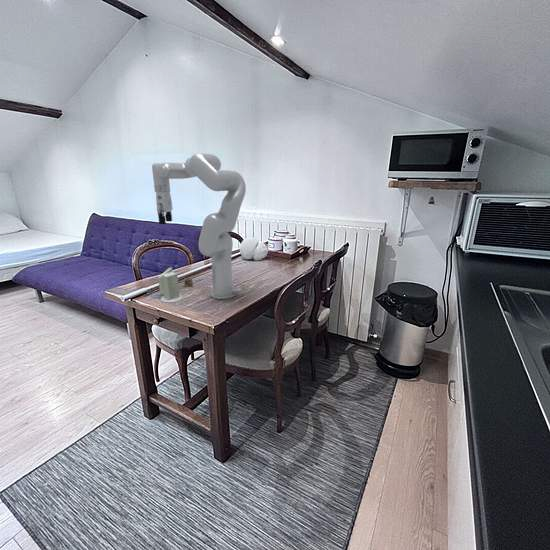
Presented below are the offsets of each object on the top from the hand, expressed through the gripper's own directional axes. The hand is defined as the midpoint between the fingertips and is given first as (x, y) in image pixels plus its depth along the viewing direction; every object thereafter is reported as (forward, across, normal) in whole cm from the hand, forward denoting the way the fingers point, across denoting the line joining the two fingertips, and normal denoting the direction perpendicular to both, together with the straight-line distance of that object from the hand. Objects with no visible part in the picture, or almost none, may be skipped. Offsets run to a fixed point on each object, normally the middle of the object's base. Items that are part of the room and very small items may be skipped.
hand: (165, 222), depth 160 cm
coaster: (+33, -24, -8) cm, 42 cm away
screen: (+33, -13, -2) cm, 36 cm away
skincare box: (+33, -24, -8) cm, 42 cm away
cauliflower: (+34, +51, -42) cm, 74 cm away
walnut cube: (+33, -6, -11) cm, 36 cm away
